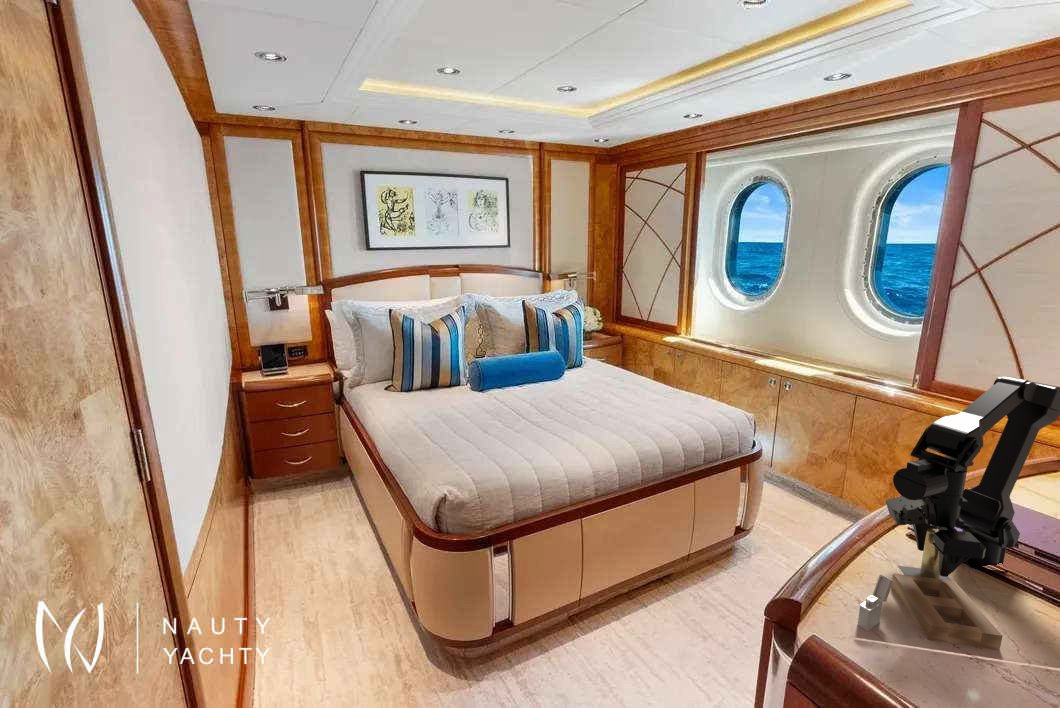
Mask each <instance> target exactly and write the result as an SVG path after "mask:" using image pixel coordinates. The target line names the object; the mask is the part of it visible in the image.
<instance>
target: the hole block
mask: <svg viewBox="0 0 1060 708" xmlns="http://www.w3.org/2000/svg"><path fill="white" fill-rule="evenodd" d="M891 579H893V584H892V587H891V589H893V591H894V592H895V594H896V595H897V596H898V598H899V599H900V602H902V605H904V606H905V609H907V611H908V612H909V614H910V616H911V617H912V618H913V620H914V622H915V623H916V624H917V626H918V627H919V629H920V630H921V632H922V634H923V635H924V636H925V637H926V639H927V640H928V641H934V642H935V641H936V642H940V643H948V644H954V645H960V646H967V647H975V648H980V649H981V648H982V649H987V650H994V651H1001V646H1002V640H1003V634H1002V633H1001V632H1000V631H999V629H997V628H996V626H994V624H993V623H992V622H991V621H990V620H989V618H988V617H987V616H986V615H985V614H984V613H983V612H982V610H980V608H979V607H978V606H977V605H976V604H975V602H974V601H973V600H972V599H971V598H970V597H969V596H968V594H966V592H965V591H964V590H963V589H962V587H961V586H959V585H958V584H957V582H956V581H955V580H952V581H950V580H942V579H934V578H926V577H918V576H910V575H904V574H901V573H893V574H892V577H891ZM949 622H952V623H949ZM957 623H959V624H957Z"/></svg>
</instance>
